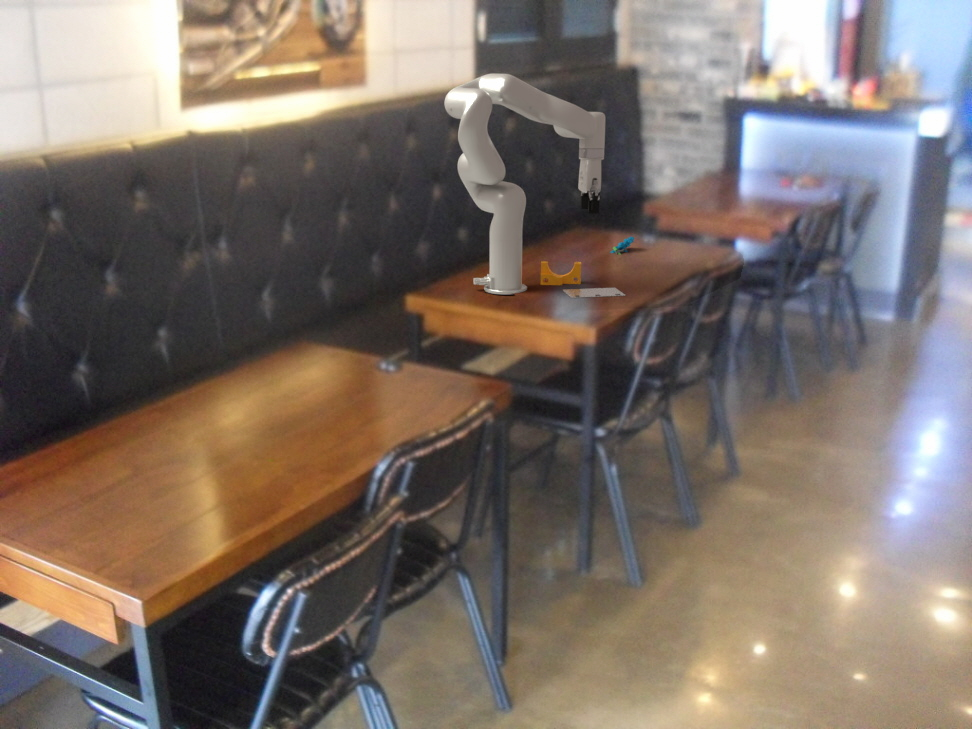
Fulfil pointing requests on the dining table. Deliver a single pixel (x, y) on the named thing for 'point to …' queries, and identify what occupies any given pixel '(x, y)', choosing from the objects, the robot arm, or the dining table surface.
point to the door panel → (593, 292)
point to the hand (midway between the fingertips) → (589, 211)
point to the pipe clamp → (560, 279)
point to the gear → (622, 246)
